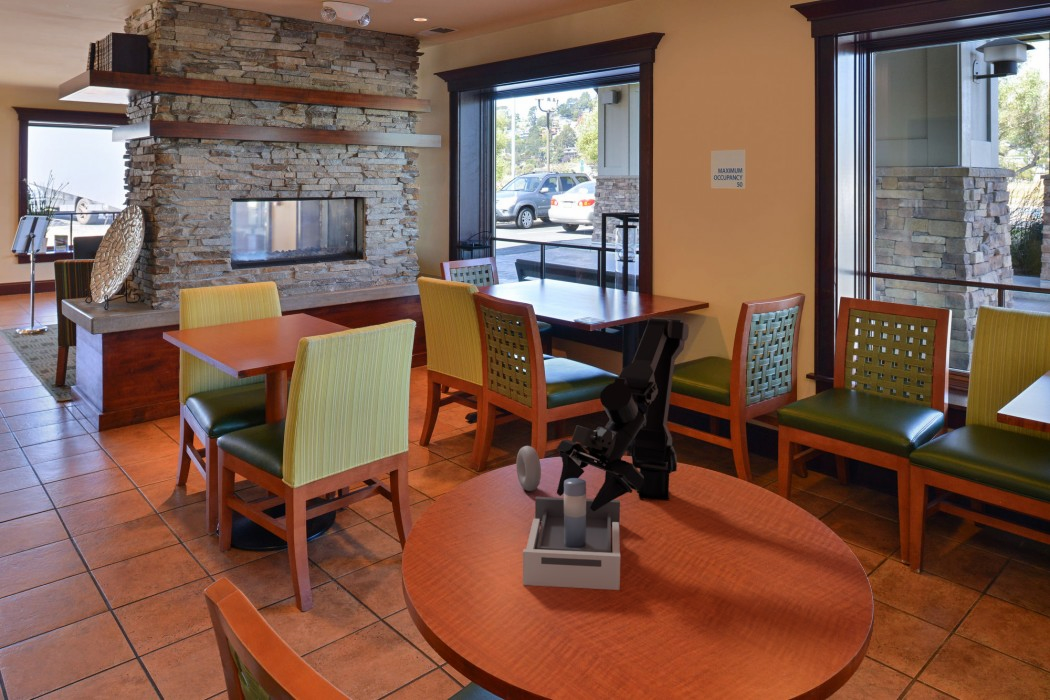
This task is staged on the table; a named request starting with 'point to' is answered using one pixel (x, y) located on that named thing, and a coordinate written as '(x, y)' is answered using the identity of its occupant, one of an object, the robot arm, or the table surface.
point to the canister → (574, 513)
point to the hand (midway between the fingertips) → (574, 502)
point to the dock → (571, 565)
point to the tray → (596, 525)
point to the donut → (528, 468)
